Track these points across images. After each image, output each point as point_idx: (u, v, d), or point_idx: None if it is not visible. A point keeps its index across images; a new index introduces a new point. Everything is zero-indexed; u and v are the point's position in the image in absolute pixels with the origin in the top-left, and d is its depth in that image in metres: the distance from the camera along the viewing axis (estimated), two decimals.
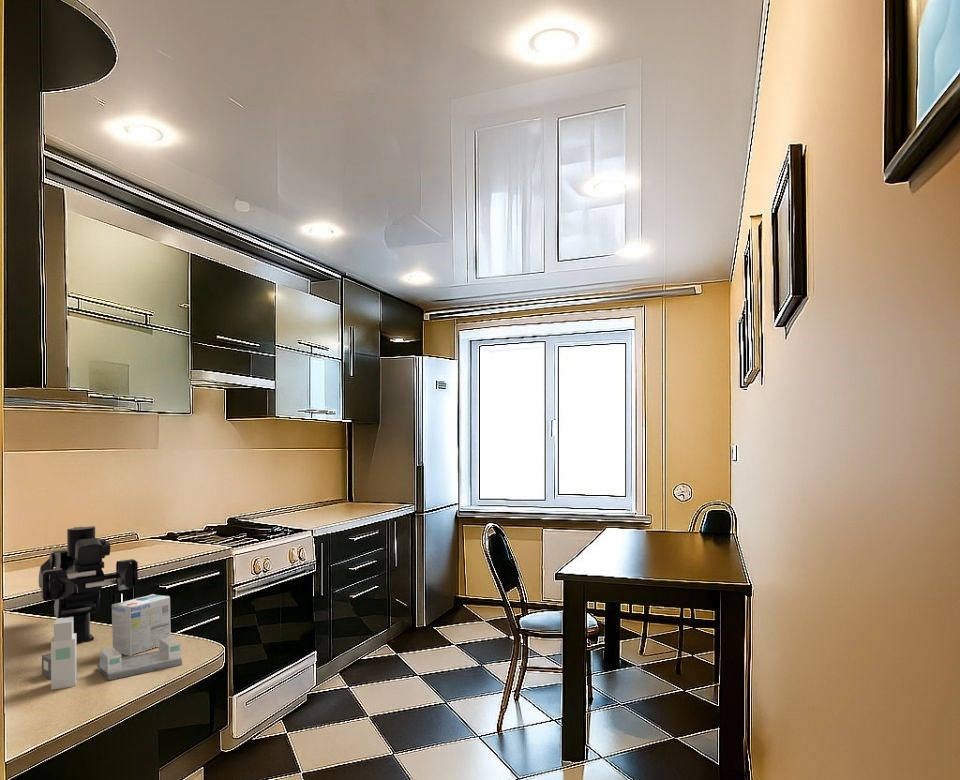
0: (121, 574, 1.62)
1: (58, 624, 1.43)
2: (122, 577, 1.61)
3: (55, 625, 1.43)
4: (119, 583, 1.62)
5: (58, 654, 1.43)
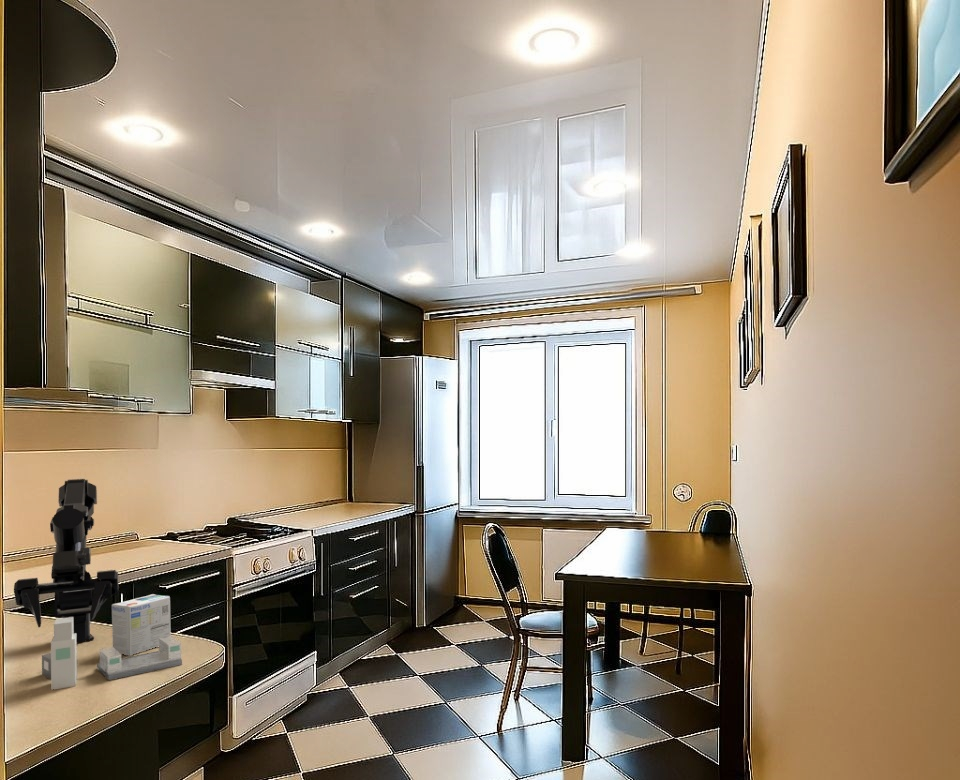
0: (93, 603, 1.53)
1: (58, 624, 1.43)
2: (92, 611, 1.52)
3: (55, 625, 1.43)
4: None
5: (58, 654, 1.43)
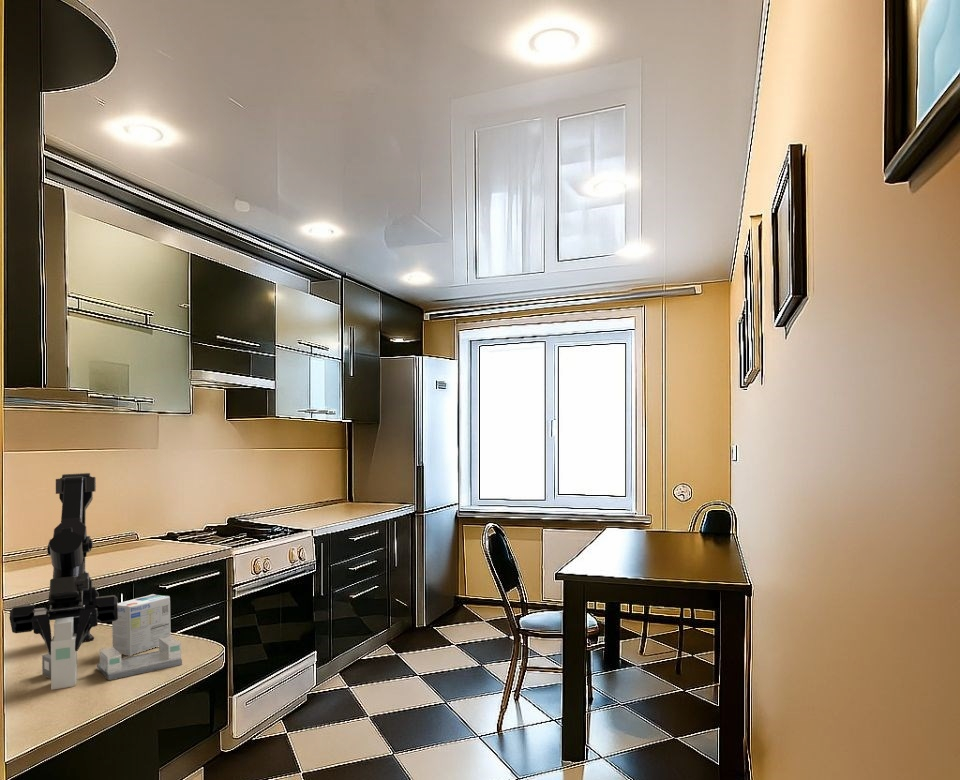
0: (78, 632, 1.46)
1: (58, 624, 1.43)
2: (77, 641, 1.45)
3: (55, 625, 1.43)
4: None
5: (58, 654, 1.43)
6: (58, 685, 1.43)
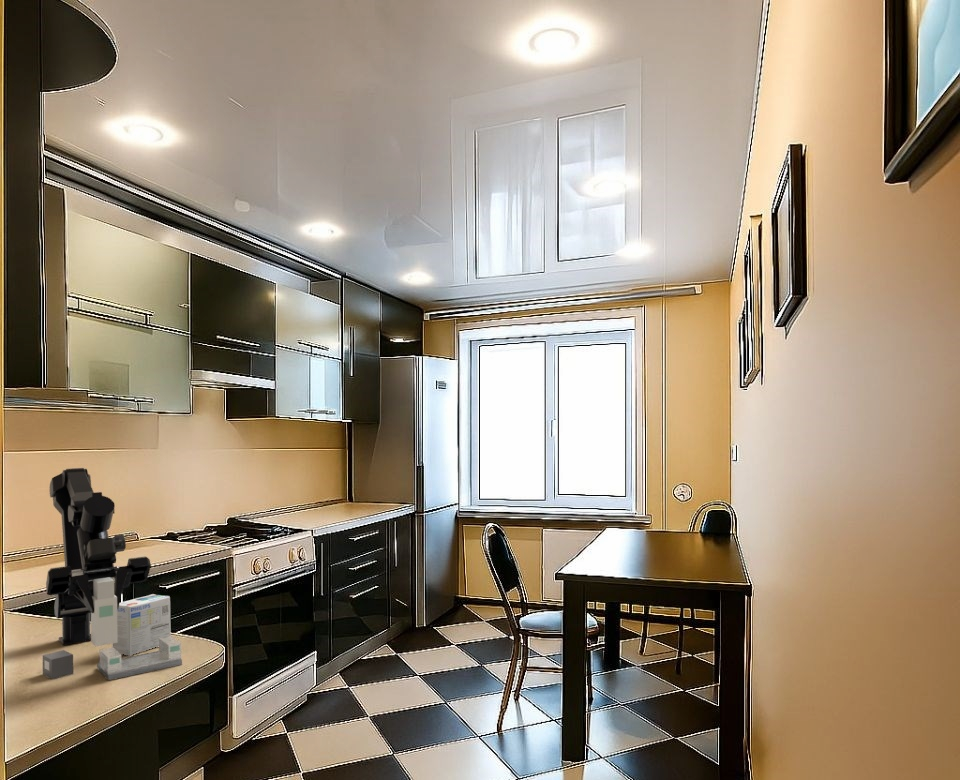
0: (117, 591, 1.51)
1: (101, 583, 1.47)
2: (117, 599, 1.50)
3: (99, 584, 1.47)
4: None
5: (102, 612, 1.47)
6: (102, 642, 1.47)
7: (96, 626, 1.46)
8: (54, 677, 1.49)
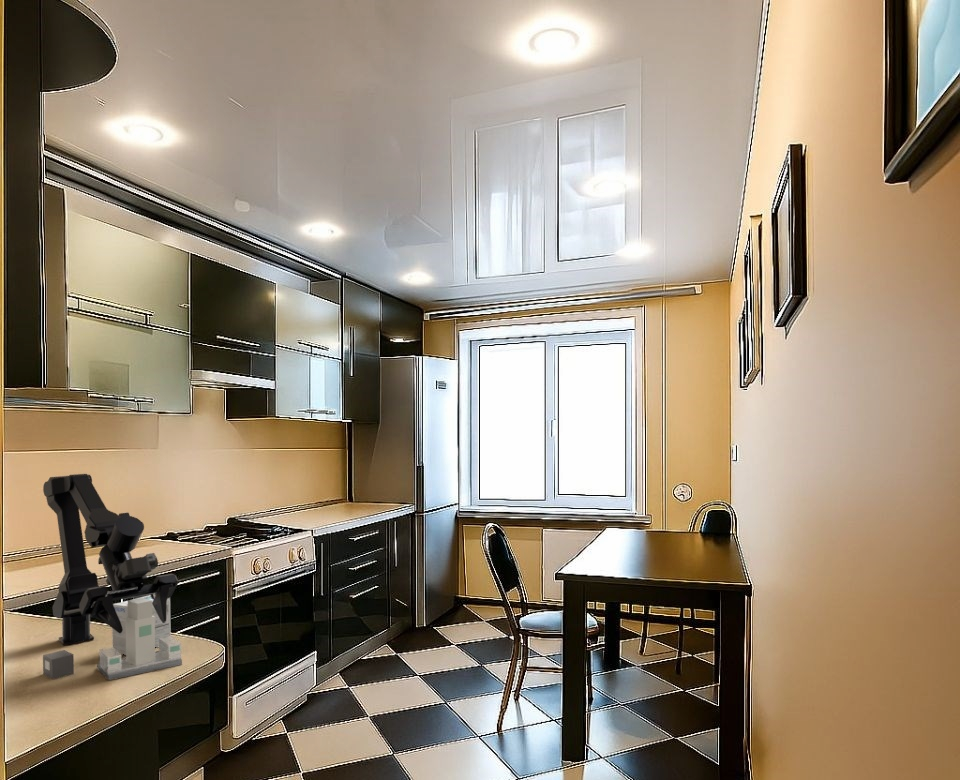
0: (163, 606, 1.58)
1: (141, 603, 1.52)
2: (164, 613, 1.57)
3: (138, 604, 1.52)
4: (158, 610, 1.59)
5: (142, 631, 1.52)
6: (141, 660, 1.52)
7: (136, 645, 1.51)
8: (54, 677, 1.49)
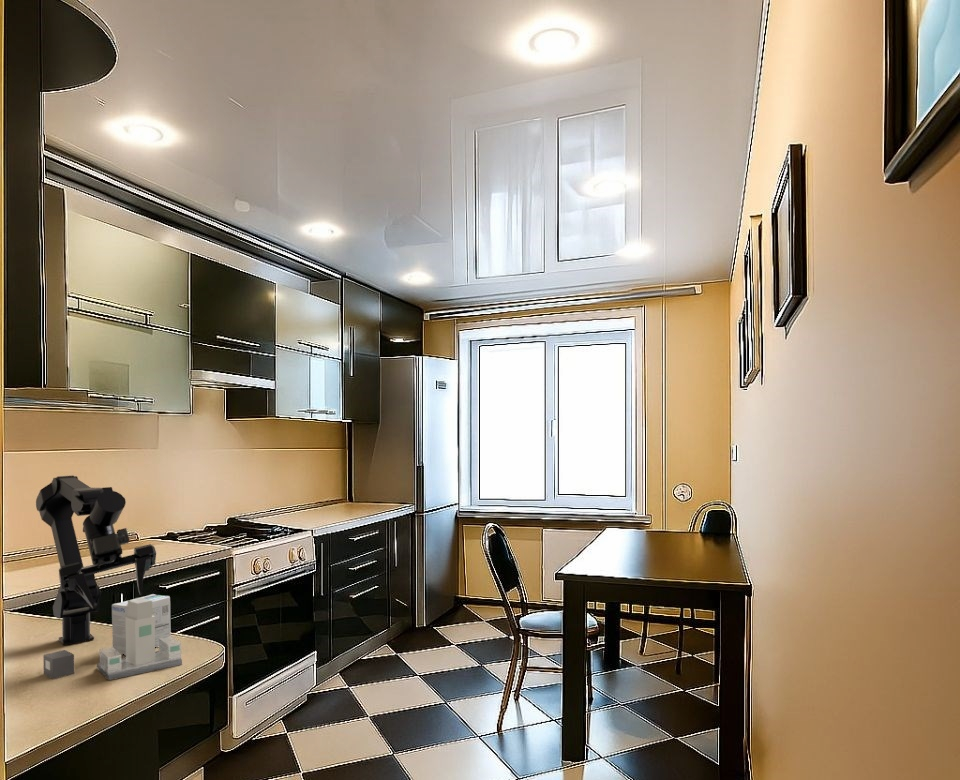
0: (139, 579, 1.61)
1: (141, 603, 1.52)
2: (140, 586, 1.60)
3: (138, 604, 1.52)
4: (137, 580, 1.62)
5: (142, 631, 1.52)
6: (141, 660, 1.52)
7: (136, 645, 1.51)
8: (55, 677, 1.49)
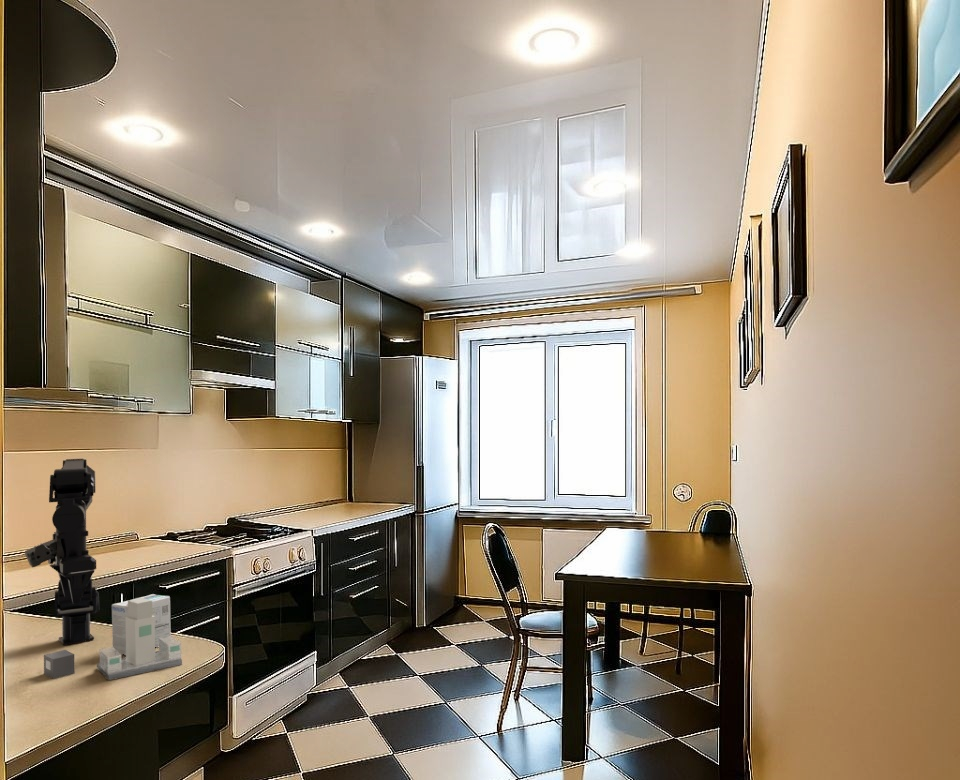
0: (70, 590, 1.55)
1: (141, 603, 1.52)
2: (71, 597, 1.55)
3: (138, 604, 1.52)
4: None
5: (142, 631, 1.52)
6: (141, 660, 1.52)
7: (136, 645, 1.51)
8: (55, 677, 1.49)
